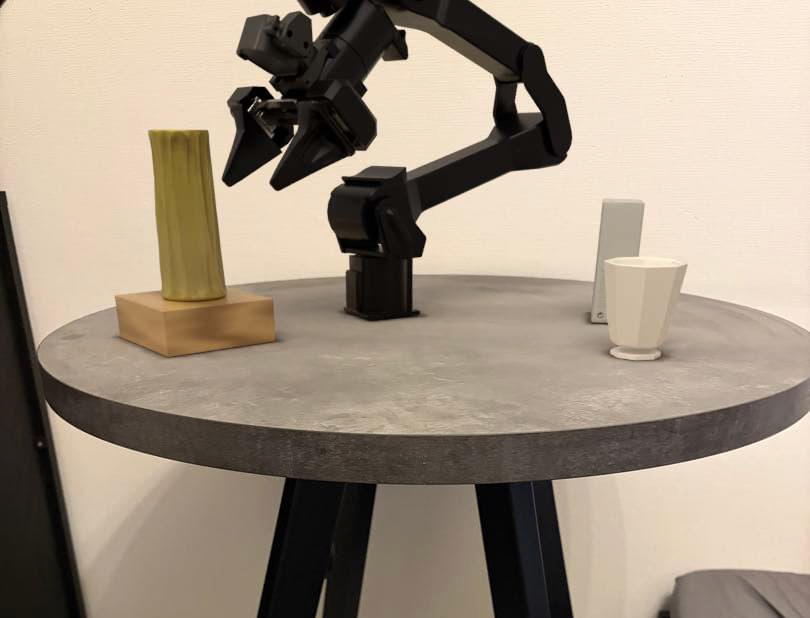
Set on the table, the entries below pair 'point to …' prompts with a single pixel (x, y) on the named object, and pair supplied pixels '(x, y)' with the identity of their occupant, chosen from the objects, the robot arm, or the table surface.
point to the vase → (186, 216)
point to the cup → (641, 303)
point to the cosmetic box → (615, 244)
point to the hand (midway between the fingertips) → (248, 185)
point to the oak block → (195, 322)
